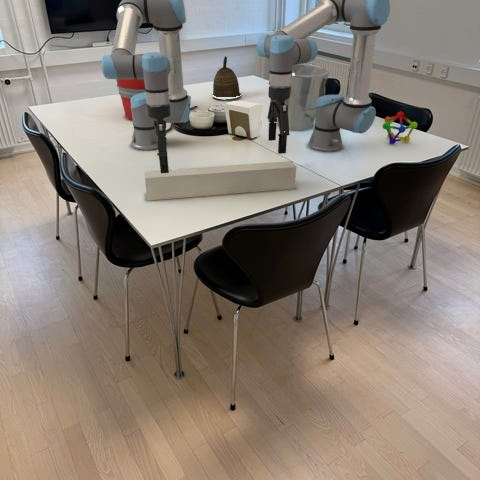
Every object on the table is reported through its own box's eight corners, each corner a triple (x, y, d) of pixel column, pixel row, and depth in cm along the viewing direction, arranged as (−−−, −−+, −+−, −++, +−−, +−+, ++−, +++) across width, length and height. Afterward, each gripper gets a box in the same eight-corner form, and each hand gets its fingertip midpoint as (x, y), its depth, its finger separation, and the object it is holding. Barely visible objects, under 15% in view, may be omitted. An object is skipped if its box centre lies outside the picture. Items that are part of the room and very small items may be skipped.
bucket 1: (124, 106, 262) (117, 51, 246) (183, 106, 262) (180, 52, 246) (108, 124, 233) (99, 63, 217) (174, 124, 232) (170, 64, 216)
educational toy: (377, 146, 209) (379, 114, 202) (384, 138, 219) (386, 107, 211) (411, 149, 202) (415, 116, 195) (417, 141, 212) (420, 109, 204)
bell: (227, 105, 294) (202, 96, 282) (238, 66, 289) (213, 55, 277) (243, 108, 280) (217, 98, 268) (255, 66, 275) (229, 55, 263)
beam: (147, 200, 158) (144, 178, 154) (147, 193, 163) (144, 171, 159) (294, 188, 167) (296, 166, 163) (290, 182, 172) (291, 160, 168)
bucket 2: (296, 138, 215) (301, 78, 201) (255, 124, 234) (256, 68, 219) (335, 125, 232) (342, 70, 217) (294, 113, 251) (297, 61, 236)
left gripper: (172, 113, 135) (177, 178, 146) (167, 94, 155) (172, 152, 166) (147, 115, 133) (154, 180, 144) (146, 95, 154) (152, 153, 165)
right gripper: (302, 94, 139) (297, 158, 150) (280, 77, 160) (277, 134, 171) (279, 95, 138) (275, 159, 149) (260, 78, 159) (258, 135, 170)
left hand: (163, 165), depth 155 cm, fingers open, 13 cm apart
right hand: (276, 146), depth 160 cm, fingers open, 13 cm apart
